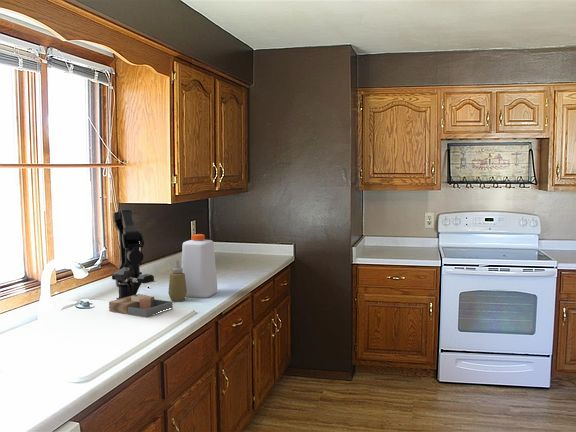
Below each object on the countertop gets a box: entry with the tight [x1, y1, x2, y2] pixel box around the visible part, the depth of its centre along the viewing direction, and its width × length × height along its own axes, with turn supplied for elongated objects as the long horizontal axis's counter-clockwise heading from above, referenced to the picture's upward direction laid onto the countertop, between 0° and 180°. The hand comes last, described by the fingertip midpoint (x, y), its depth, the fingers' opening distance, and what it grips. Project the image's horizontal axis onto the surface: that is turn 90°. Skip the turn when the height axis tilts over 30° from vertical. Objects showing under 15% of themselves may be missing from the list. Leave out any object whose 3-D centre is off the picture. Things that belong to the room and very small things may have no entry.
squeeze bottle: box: [168, 259, 187, 303], centre depth 261 cm, size 8×8×18 cm
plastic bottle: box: [180, 233, 218, 299], centre depth 272 cm, size 15×15×28 cm
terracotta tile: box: [139, 298, 151, 309], centre depth 243 cm, size 4×4×2 cm
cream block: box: [131, 293, 148, 302], centre depth 244 cm, size 4×4×2 cm
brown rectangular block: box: [108, 293, 155, 315], centre depth 246 cm, size 10×16×4 cm, turn 151°
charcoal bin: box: [127, 298, 174, 318], centre depth 242 cm, size 10×16×3 cm, turn 151°
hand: (133, 297), depth 246 cm, fingers closed
